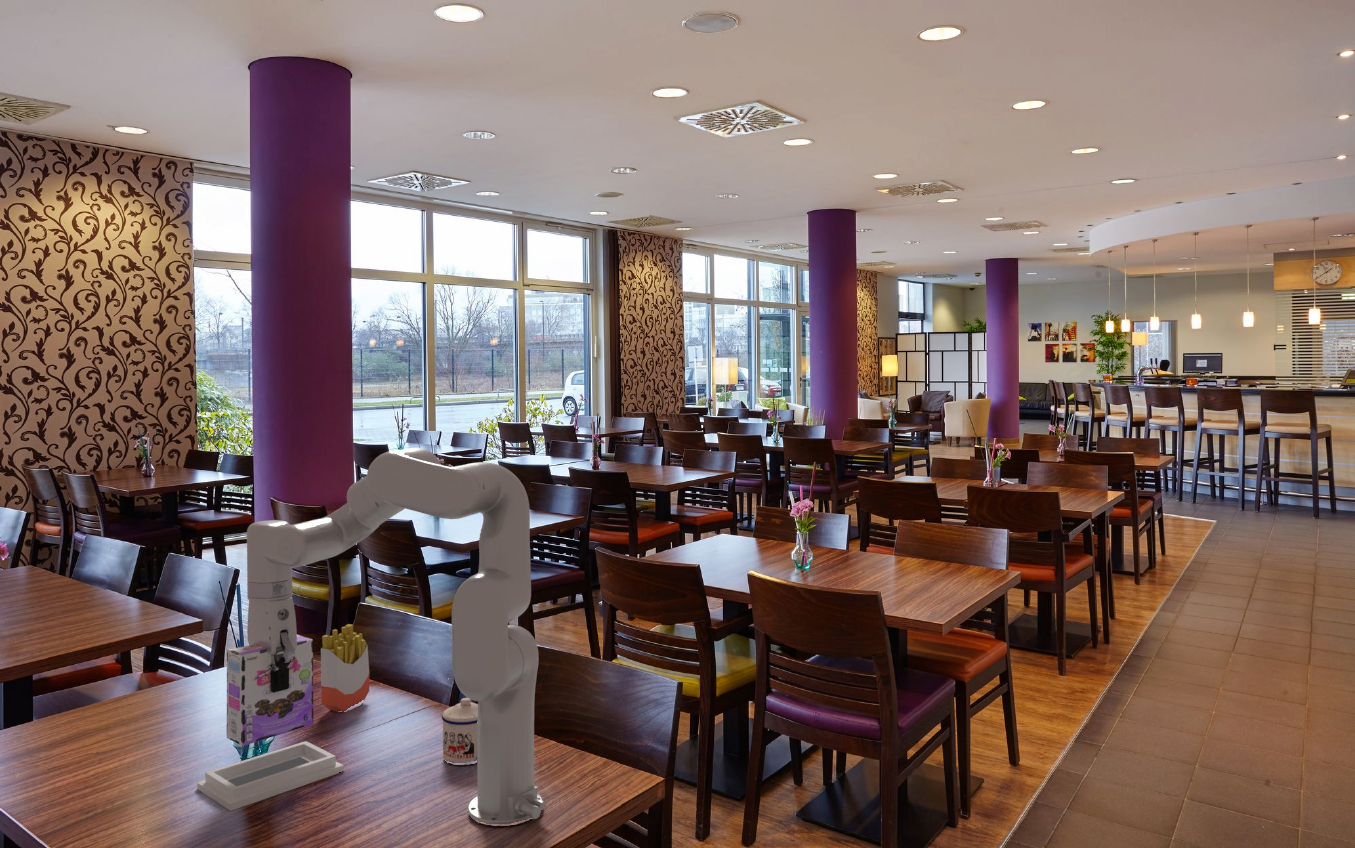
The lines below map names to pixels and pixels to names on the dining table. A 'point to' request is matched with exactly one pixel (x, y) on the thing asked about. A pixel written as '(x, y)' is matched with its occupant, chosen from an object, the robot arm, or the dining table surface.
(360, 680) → the french fries container
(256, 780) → the grey rectangular tray
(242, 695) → the candy box
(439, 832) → the dining table surface
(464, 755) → the teacup with lid
